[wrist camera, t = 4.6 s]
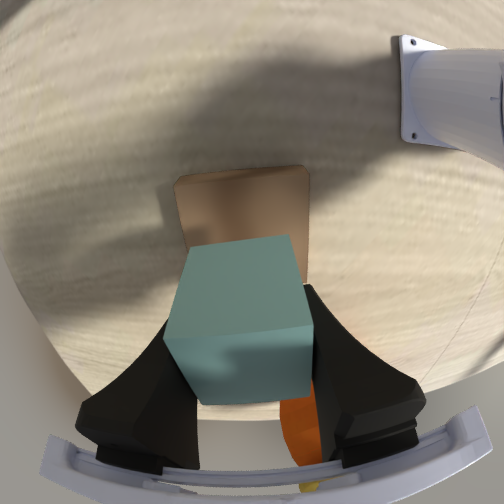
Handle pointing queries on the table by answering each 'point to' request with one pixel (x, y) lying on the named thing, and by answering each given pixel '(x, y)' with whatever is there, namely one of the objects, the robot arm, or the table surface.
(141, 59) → the table surface
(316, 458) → the alarm clock
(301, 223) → the walnut slab
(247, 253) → the teal block
